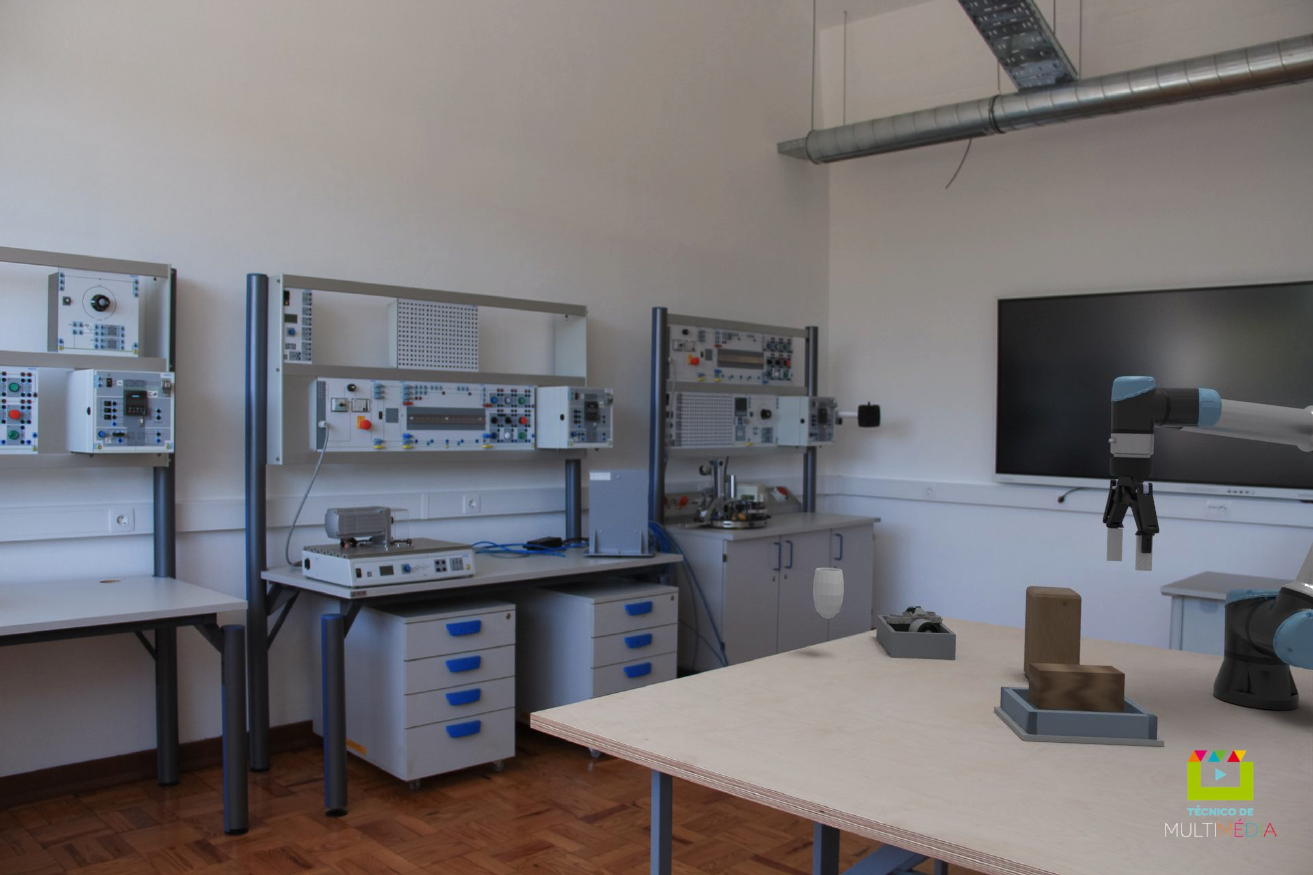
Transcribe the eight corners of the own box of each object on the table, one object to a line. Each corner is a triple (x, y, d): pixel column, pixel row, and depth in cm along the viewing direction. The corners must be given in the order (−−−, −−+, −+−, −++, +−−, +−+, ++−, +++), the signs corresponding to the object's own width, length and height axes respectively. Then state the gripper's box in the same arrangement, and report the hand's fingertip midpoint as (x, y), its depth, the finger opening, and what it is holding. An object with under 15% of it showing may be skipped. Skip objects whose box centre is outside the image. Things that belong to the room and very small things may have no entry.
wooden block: (1080, 688, 210) (1082, 594, 210) (1030, 684, 212) (1033, 591, 212) (1070, 676, 220) (1072, 587, 220) (1022, 673, 222) (1025, 584, 222)
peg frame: (1121, 716, 189) (1122, 690, 189) (1164, 746, 171) (1164, 717, 171) (994, 711, 191) (994, 685, 191) (1023, 740, 173) (1023, 711, 173)
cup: (846, 656, 235) (849, 569, 235) (835, 661, 229) (837, 572, 228) (818, 651, 239) (820, 566, 238) (806, 657, 232) (808, 569, 232)
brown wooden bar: (1038, 709, 178) (1039, 670, 178) (1028, 700, 184) (1029, 662, 184) (1123, 712, 177) (1124, 673, 177) (1110, 703, 183) (1111, 665, 183)
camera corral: (934, 640, 256) (935, 617, 256) (955, 659, 234) (956, 634, 234) (876, 637, 257) (876, 614, 257) (891, 657, 235) (891, 632, 235)
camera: (897, 652, 239) (898, 611, 239) (879, 644, 247) (880, 604, 247) (953, 650, 243) (955, 609, 243) (934, 642, 252) (935, 603, 252)
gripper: (1087, 454, 204) (1084, 556, 204) (1139, 457, 179) (1135, 574, 179) (1124, 455, 203) (1121, 557, 204) (1181, 458, 178) (1178, 575, 179)
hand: (1128, 565), depth 191 cm, fingers open, 13 cm apart
